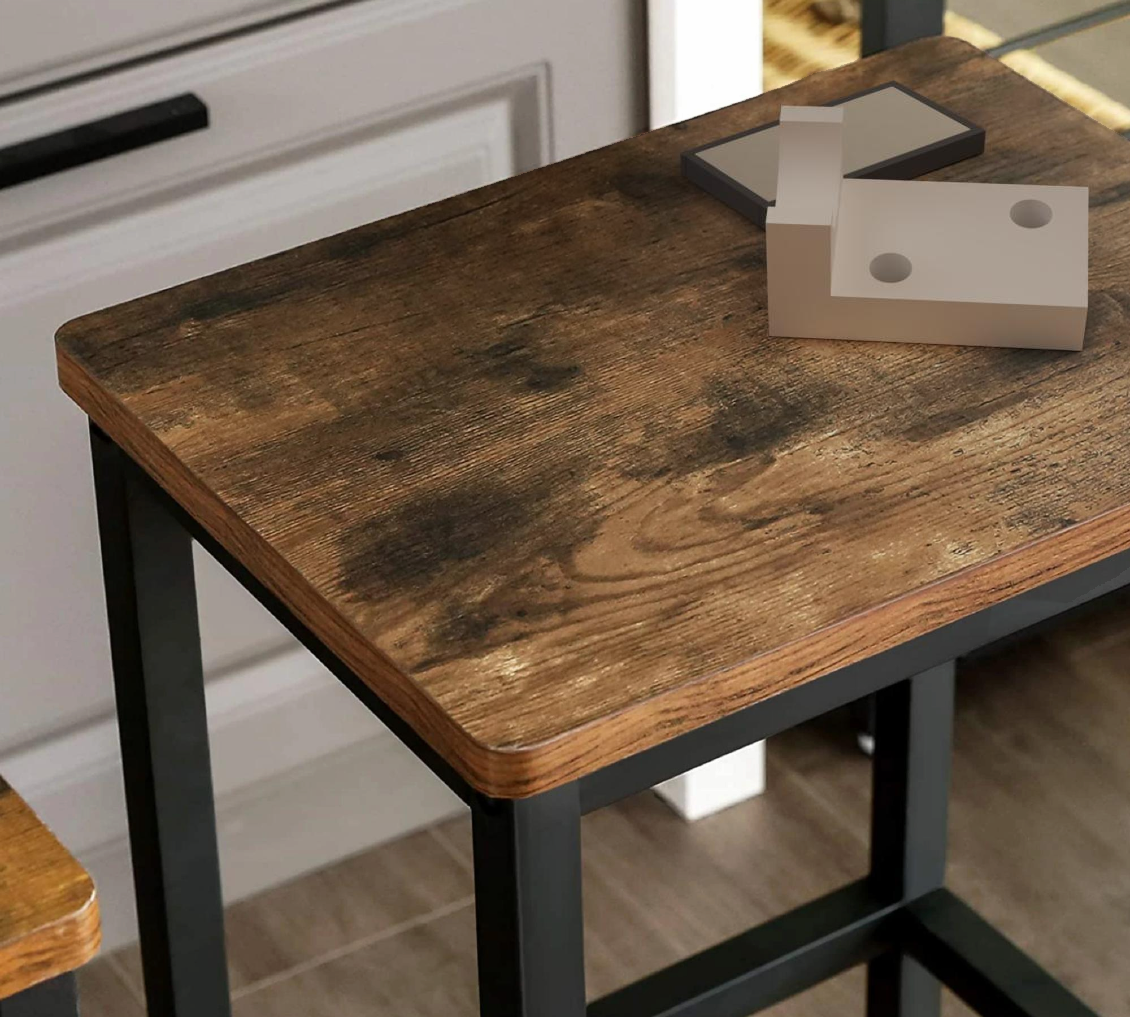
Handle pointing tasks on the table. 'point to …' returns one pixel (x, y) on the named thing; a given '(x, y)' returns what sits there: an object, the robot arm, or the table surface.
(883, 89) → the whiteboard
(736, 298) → the table surface
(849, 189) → the bracket
